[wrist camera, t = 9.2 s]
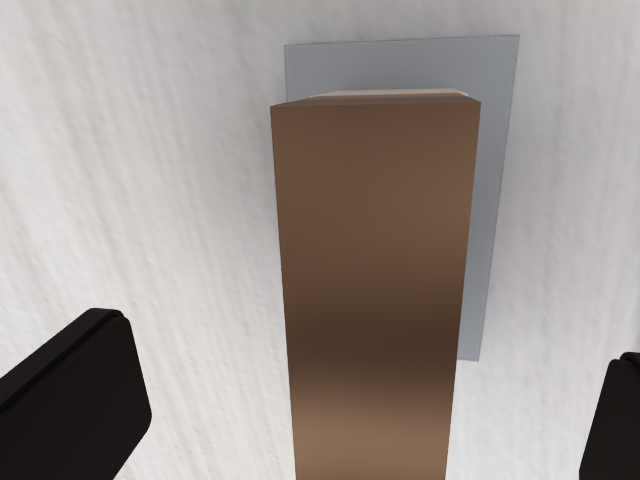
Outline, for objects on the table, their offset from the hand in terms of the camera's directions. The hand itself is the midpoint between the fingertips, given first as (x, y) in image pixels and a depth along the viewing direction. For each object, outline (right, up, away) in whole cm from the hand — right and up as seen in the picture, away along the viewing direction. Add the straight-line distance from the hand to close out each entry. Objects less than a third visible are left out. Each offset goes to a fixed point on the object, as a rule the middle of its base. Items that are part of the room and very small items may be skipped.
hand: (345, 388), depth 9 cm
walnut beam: (+2, +2, +7) cm, 8 cm away
